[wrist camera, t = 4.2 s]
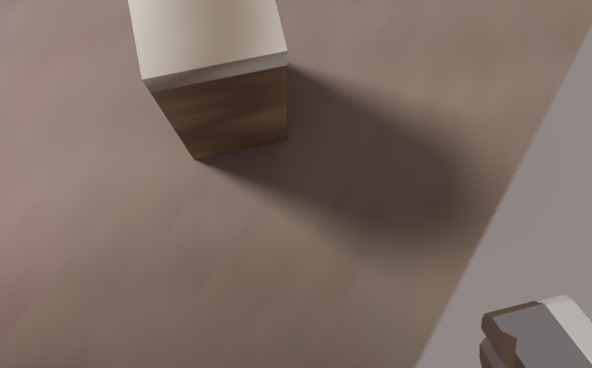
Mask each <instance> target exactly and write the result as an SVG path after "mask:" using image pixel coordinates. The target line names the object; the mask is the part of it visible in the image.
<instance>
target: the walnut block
mask: <svg viewBox="0 0 592 368" xmlns="http://www.w3.org/2000/svg"><path fill="white" fill-rule="evenodd" d="M128 2H129V8H130V14H131V20H132V25H133V31H134V37H135V43H136V48H137V54H138V60H139V66H140V72H141V77H142V80H143V82H144V84H145V85H146V87H147V88H148V90H149V91H150V93H151V94H152V96H153V97H154V99H155V100H156V102H157V103H158V105H159V107H160V108H161V110H162V111H163V113H164V114H165V116H166V117H167V119H168V120H169V122H170V123H171V125H172V126H173V128H174V130H175V131H176V133H177V134H178V136H179V137H180V139H181V140H182V142H183V143H184V145H185V146H186V148H187V150H188V151H189V153H190V154H191V156H192V157H193V159H198V158H203V157H208V156H212V155H217V154H222V153H227V152H232V151H236V150H241V149H246V148H251V147H255V146H260V145H265V144H270V143H275V142H279V141H284V140H287V47H286V43H285V39H284V35H283V30H282V26H281V22H280V18H279V14H278V10H277V5H276V1H275V0H128Z"/></svg>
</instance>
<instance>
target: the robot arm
mask: <svg viewBox="0 0 592 368" xmlns="http://www.w3.org/2000/svg"><path fill="white" fill-rule="evenodd" d="M481 328H482V330H483V332H484V334H485V335H486V338H485V339H484V340H483V341H482V342H481V344H480V361H481V365H482V368H592V322H591V320H590V319H589V318H588V317H587V316H586V315H585V314H584V312H583V311H582V310H581V309H580V308H579V307H578V306H577V305H576V303H575V302H574V301H573V300H572V299H571V298H570V297H568V296H566V295H561V296H556V297H552V298H548V299H544V300H540V301H537V302H536V301H533V302H529V303H525V304H521V305H517V306H513V307H509V308H505V309H501V310H497V311H493V312H489V313H485V315H484V316H483V318H482V324H481Z"/></svg>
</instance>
